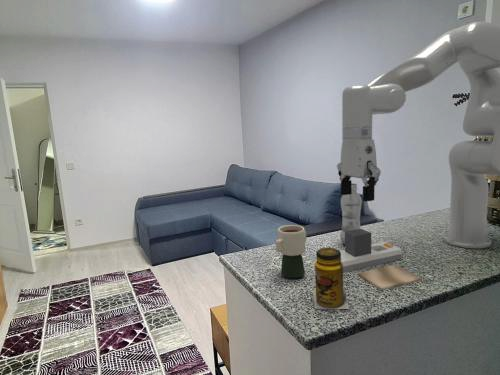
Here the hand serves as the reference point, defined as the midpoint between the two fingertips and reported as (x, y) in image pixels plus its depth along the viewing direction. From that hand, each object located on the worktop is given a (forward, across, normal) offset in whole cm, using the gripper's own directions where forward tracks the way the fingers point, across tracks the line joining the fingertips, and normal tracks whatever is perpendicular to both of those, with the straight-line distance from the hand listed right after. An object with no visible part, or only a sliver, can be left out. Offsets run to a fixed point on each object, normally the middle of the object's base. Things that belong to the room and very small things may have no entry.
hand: (356, 197), depth 90 cm
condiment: (+20, -14, +18) cm, 30 cm away
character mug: (+20, +1, +20) cm, 28 cm away
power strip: (+19, 0, -2) cm, 19 cm away
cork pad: (+19, -11, -2) cm, 22 cm away
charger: (+17, 0, -1) cm, 17 cm away
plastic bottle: (+19, +13, -8) cm, 24 cm away
